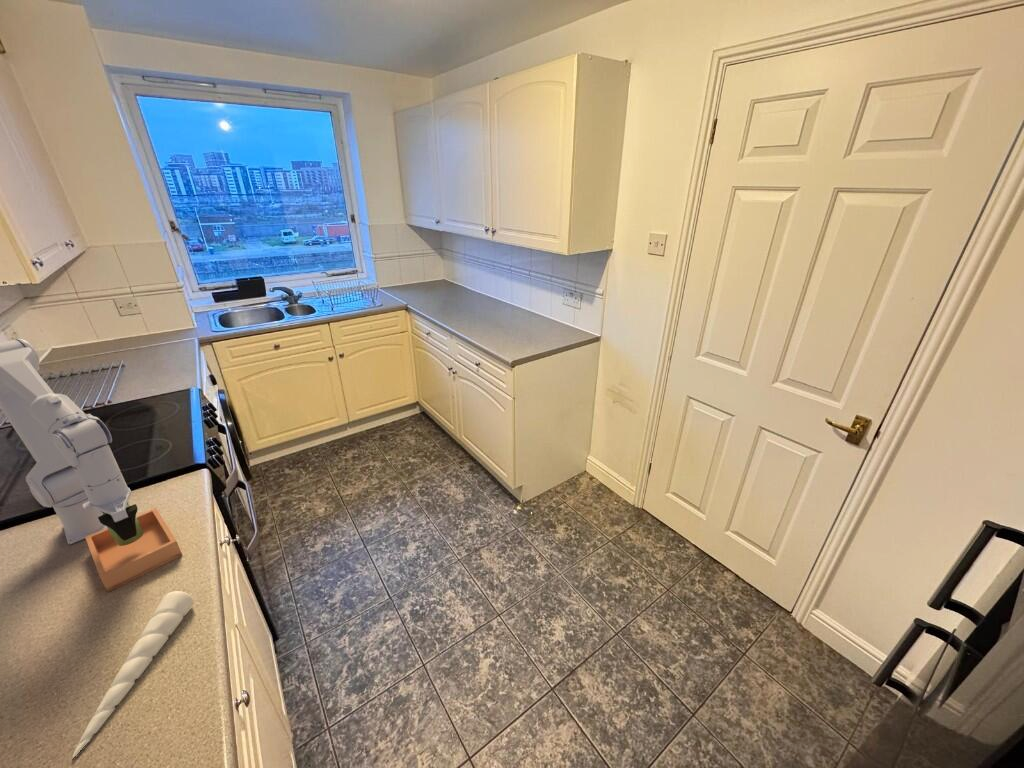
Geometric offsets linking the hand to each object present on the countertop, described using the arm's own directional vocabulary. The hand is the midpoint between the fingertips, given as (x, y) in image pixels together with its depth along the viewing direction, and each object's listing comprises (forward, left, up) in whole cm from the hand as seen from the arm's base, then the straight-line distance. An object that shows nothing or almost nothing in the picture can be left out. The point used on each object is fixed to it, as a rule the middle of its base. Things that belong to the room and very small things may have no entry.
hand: (127, 531), depth 86 cm
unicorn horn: (+30, -5, -7) cm, 32 cm away
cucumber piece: (0, 0, -2) cm, 2 cm away
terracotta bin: (0, 0, -6) cm, 6 cm away
